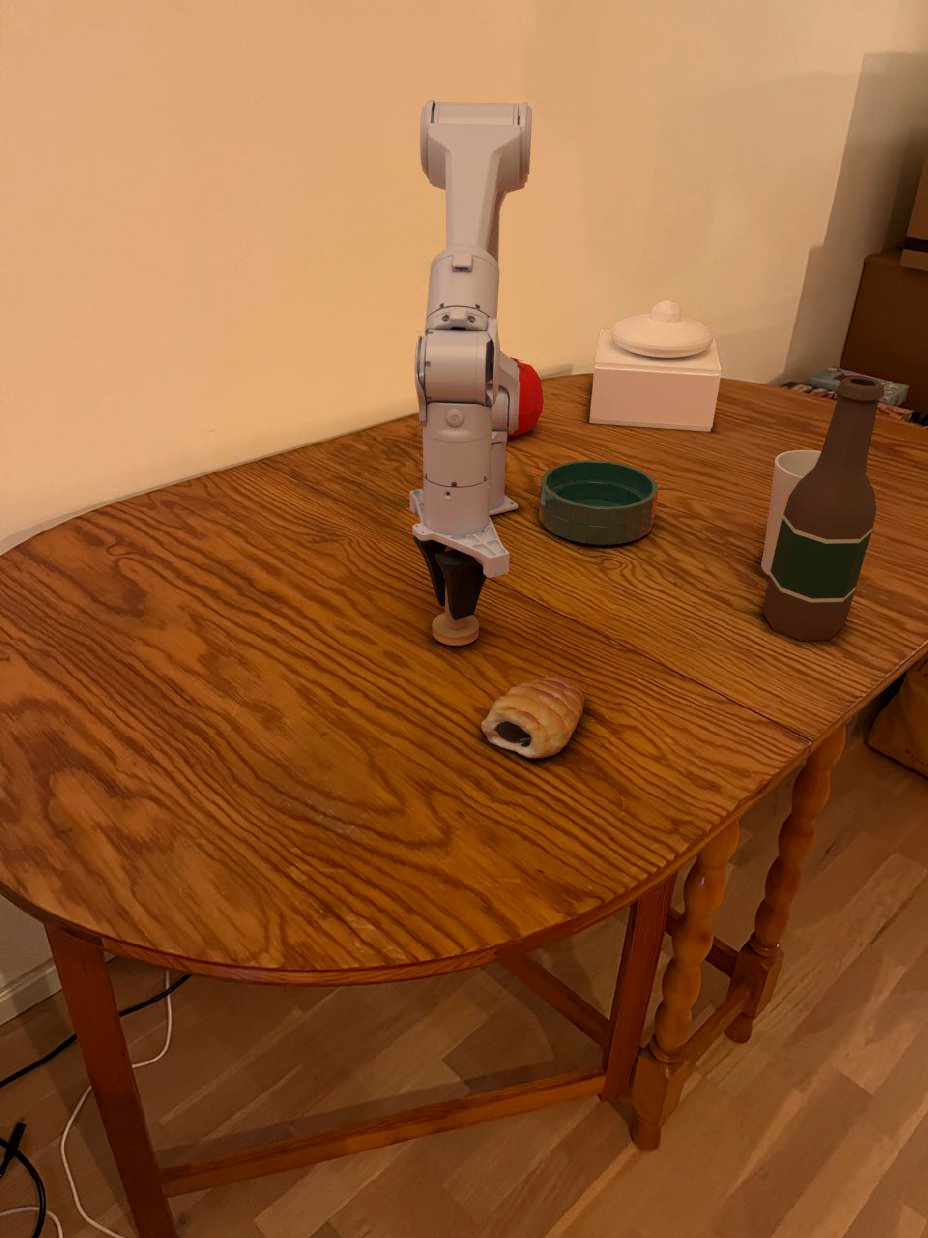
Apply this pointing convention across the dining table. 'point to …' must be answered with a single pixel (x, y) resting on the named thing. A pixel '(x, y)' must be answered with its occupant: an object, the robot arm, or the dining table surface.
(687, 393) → the butter dish
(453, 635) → the peg on round base
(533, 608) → the dining table surface
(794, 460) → the cup
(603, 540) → the bowl
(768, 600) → the beer bottle
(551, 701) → the pastry
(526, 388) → the tomato
